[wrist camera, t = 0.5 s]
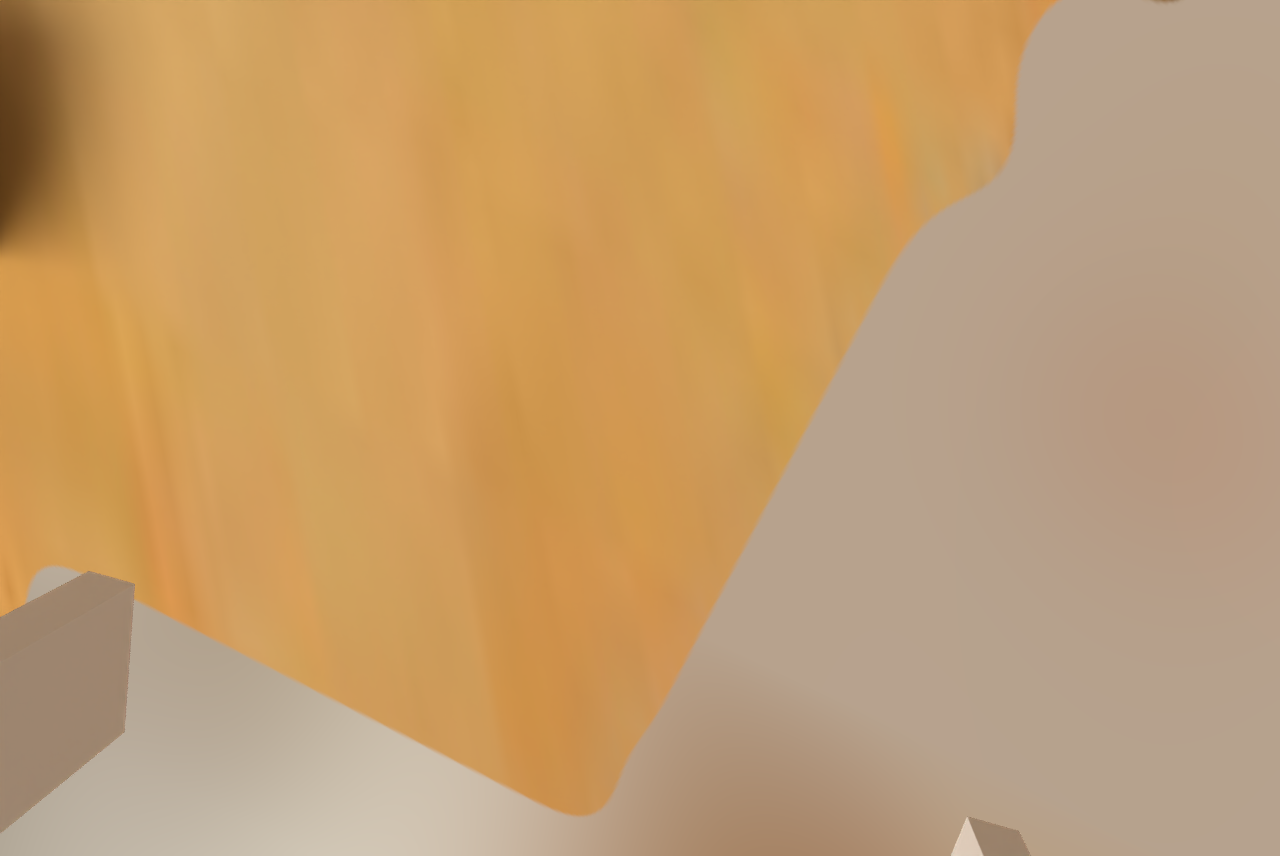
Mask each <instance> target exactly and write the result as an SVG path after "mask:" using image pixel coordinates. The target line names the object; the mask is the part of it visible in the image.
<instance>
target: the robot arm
mask: <svg viewBox="0 0 1280 856" xmlns="http://www.w3.org/2000/svg"><path fill="white" fill-rule="evenodd" d="M134 589H135V584H133V583H130V582H126V581H123V580H119V579H116V578H112V577H108V576H105V575H101V574H98V573H94V572H91V571H88V572H86V573H84V574H82V575H81V576H79V577H77V578H75V579H73V580H71V581H69V582H67V583H65V584H63V585H61V586H60V587H58V588H56V589H54V590H52V591H50V592H48V593H46V594H44V595H42V596H40V597H38V598H37V599H35V600H33V601H31V602H29V603H27V604H25V605H23V606H21V607H19V608H17V609H15V610H13V611H11V612H9V613H8V614H6V615H4V616H2V617H0V833H1V832H3V831H4V830H5V829H6V828H8V827H9V826H10V825H11V824H12V823H14V822H15V821H16V820H17V819H19V818H20V817H21V816H22V815H23V814H25V813H26V812H27V811H28V810H30V809H31V808H32V807H33V806H35V804H37V803H38V802H39V801H41V800H42V799H43V798H44V797H46V796H47V795H48V794H49V793H50V792H52V791H53V790H54V789H55V788H56V787H58V786H59V785H60V784H61V783H63V782H64V781H65V780H66V779H68V778H69V777H70V776H71V775H72V774H74V773H75V772H76V771H77V770H79V769H80V768H81V767H82V766H84V765H85V764H86V763H87V762H88V761H89V760H91V759H92V758H93V757H95V755H97V754H98V753H99V752H101V751H102V750H103V749H104V748H105V747H107V746H108V745H109V744H110V743H112V742H113V741H114V740H115V739H117V738H118V737H119V736H120V735H121V734H122V733H124V731H125V717H126V703H127V689H128V674H129V660H130V645H131V631H132V617H133V603H134V602H133V601H134ZM951 856H1031V855H1030V853H1029V851H1028V849H1027V847H1026V845H1025V843H1024V841H1023V839H1022V837H1021V834H1020V832H1019V831H1017V830H1013V829H1010V828H1006V827H1003V826H999V825H996V824H992V823H989V822H985V821H981V820H978V819H974V818H971V817H967V818H966V821H965V823H964V825H963V828H962V830H961V833H960V835H959V837H958V840H957V842H956V845H955V847H954V849H953V852H952V854H951Z"/></svg>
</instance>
